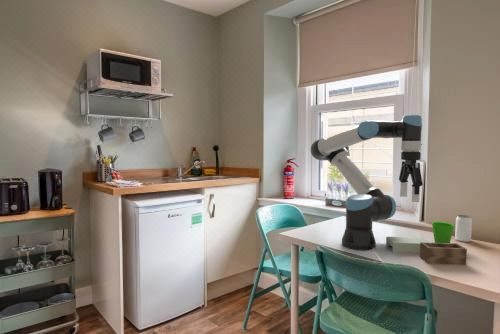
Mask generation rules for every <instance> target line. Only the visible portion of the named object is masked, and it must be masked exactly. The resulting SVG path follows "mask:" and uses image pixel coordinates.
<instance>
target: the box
mask: <svg viewBox="0 0 500 334" xmlns="http://www.w3.org/2000/svg"><path fill="white" fill-rule="evenodd" d="M467 252H468V248H466V247H464V246H462V245H460V244H458V243H456V242H455V243H454V242H450V243H435V242H430V243H428V242H420V253H419V258H420V259H422V260H423V261H424V262H425V263H426V264H429V265H456V266H457V265H458V266H467Z"/></svg>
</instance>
